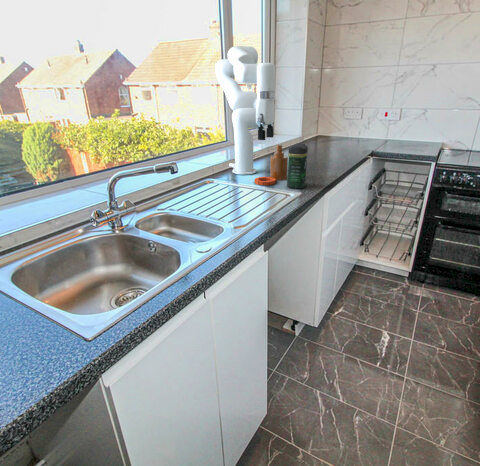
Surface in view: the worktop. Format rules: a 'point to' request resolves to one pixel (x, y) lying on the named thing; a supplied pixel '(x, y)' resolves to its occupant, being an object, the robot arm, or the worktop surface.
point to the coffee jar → (297, 166)
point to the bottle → (279, 164)
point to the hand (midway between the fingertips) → (265, 138)
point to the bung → (265, 181)
